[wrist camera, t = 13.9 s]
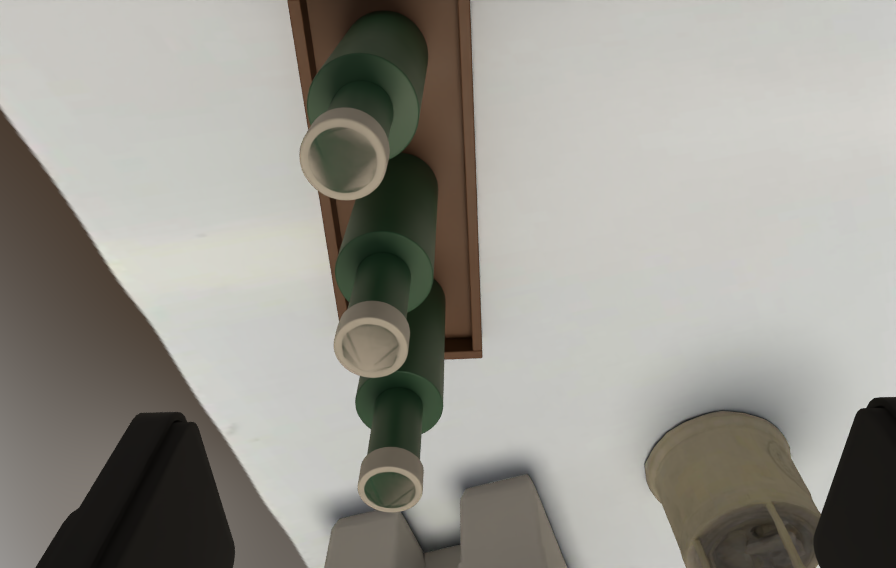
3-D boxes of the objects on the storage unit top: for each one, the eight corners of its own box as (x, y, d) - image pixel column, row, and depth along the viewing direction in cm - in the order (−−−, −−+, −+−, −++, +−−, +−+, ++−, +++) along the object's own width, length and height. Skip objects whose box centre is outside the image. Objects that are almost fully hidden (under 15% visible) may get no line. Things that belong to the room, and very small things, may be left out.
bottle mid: (346, 175, 38) (288, 330, 25) (412, 138, 37) (388, 279, 24) (388, 236, 40) (354, 410, 27) (452, 202, 39) (451, 366, 26)
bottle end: (361, 289, 42) (318, 476, 29) (422, 258, 41) (406, 438, 28) (399, 339, 44) (375, 537, 31) (458, 311, 43) (459, 503, 30)
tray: (293, -20, 34) (284, -14, 32) (468, -30, 34) (468, -25, 32) (350, 344, 45) (345, 363, 43) (481, 339, 45) (482, 358, 43)
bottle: (326, 39, 35) (245, 136, 21) (399, -8, 34) (361, 64, 20) (373, 113, 37) (326, 244, 23) (443, 71, 36) (436, 184, 22)
